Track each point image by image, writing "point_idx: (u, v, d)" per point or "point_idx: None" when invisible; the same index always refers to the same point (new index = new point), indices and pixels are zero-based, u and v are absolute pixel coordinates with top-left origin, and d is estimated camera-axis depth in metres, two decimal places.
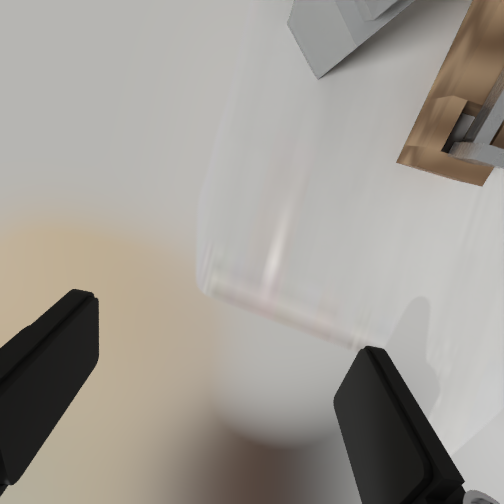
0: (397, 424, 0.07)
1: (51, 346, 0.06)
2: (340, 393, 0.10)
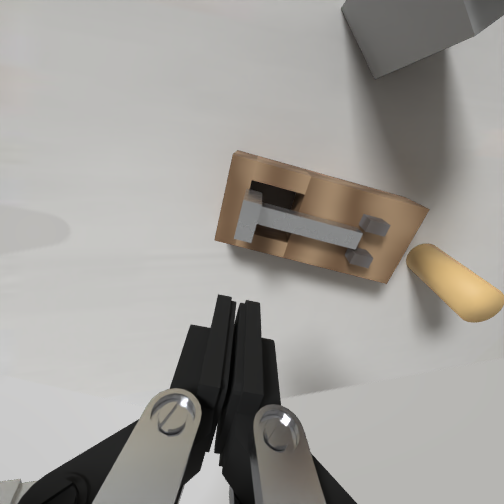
0: (235, 357, 0.07)
1: (231, 341, 0.08)
2: None
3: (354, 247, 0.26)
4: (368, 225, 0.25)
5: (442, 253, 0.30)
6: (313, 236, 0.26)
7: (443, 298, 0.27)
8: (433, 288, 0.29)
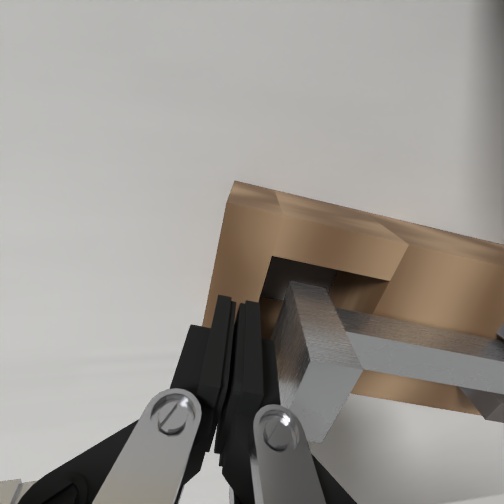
0: (235, 357, 0.07)
1: (231, 342, 0.08)
2: None
3: None
4: None
5: None
6: (441, 379, 0.12)
7: None
8: None
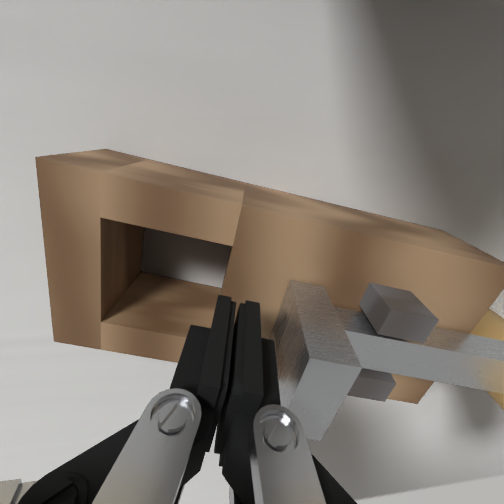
0: (235, 357, 0.07)
1: (231, 342, 0.08)
2: None
3: None
4: (384, 321, 0.10)
5: None
6: (440, 378, 0.12)
7: None
8: None
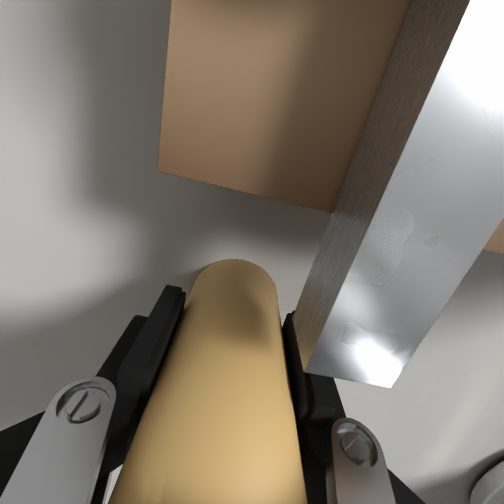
0: (297, 369, 0.08)
1: (169, 331, 0.08)
2: None
3: (317, 367, 0.05)
4: None
5: None
6: (432, 122, 0.03)
7: (156, 464, 0.05)
8: (181, 377, 0.06)
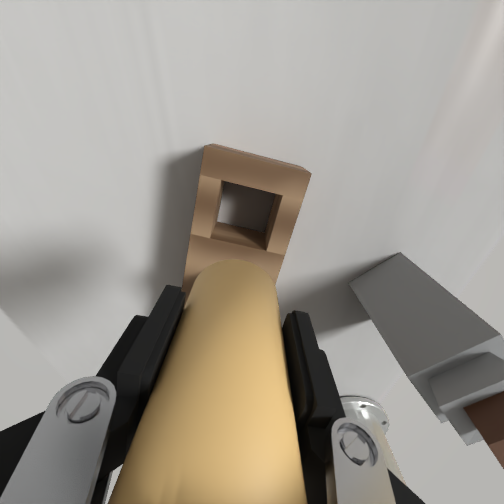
0: (298, 369, 0.08)
1: (169, 331, 0.08)
2: None
3: None
4: None
5: None
6: None
7: (155, 465, 0.05)
8: (181, 378, 0.06)
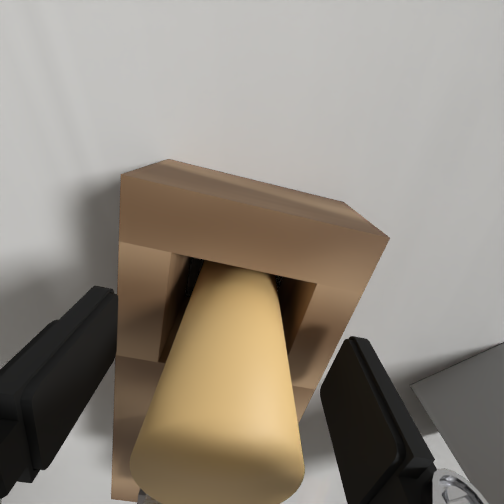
0: (375, 408, 0.07)
1: (79, 339, 0.07)
2: (326, 383, 0.10)
3: None
4: None
5: None
6: None
7: (194, 342, 0.07)
8: (205, 304, 0.09)
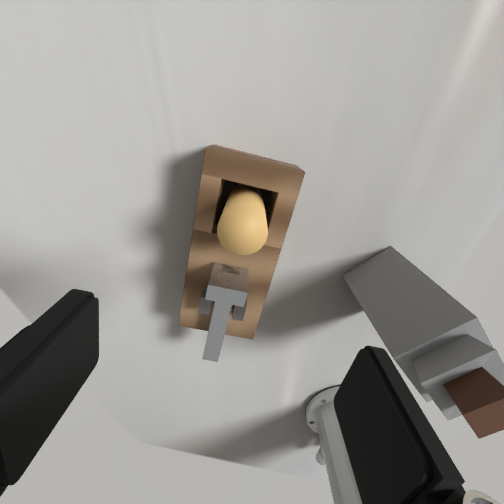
0: (397, 424, 0.07)
1: (51, 346, 0.06)
2: (340, 393, 0.10)
3: (204, 358, 0.31)
4: None
5: None
6: (210, 330, 0.29)
7: (233, 202, 0.22)
8: (234, 197, 0.23)
